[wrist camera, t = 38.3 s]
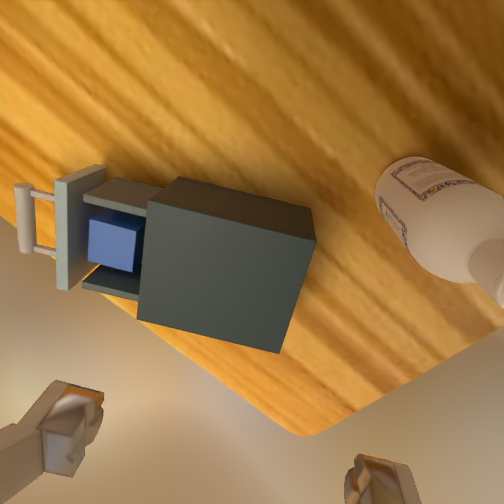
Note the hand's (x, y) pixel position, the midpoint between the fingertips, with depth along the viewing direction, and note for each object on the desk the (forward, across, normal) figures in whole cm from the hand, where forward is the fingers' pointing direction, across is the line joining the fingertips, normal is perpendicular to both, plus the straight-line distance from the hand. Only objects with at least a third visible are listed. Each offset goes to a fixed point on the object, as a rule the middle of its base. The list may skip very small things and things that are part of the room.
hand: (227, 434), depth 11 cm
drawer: (+28, +15, +7) cm, 33 cm away
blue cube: (+27, +14, +7) cm, 31 cm away
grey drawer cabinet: (+29, +3, +7) cm, 30 cm away
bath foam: (+29, -14, -4) cm, 32 cm away
